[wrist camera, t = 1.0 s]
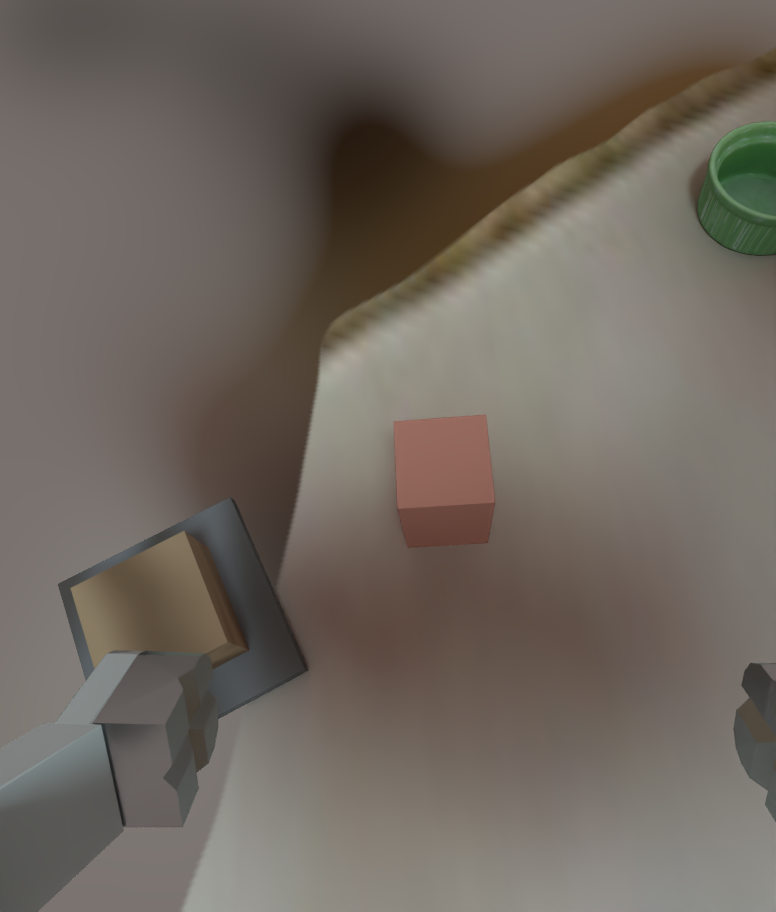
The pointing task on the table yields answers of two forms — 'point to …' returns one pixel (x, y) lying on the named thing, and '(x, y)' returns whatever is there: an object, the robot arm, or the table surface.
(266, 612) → the tower base
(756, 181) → the ramekin
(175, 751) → the robot arm
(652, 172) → the table surface
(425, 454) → the red block
